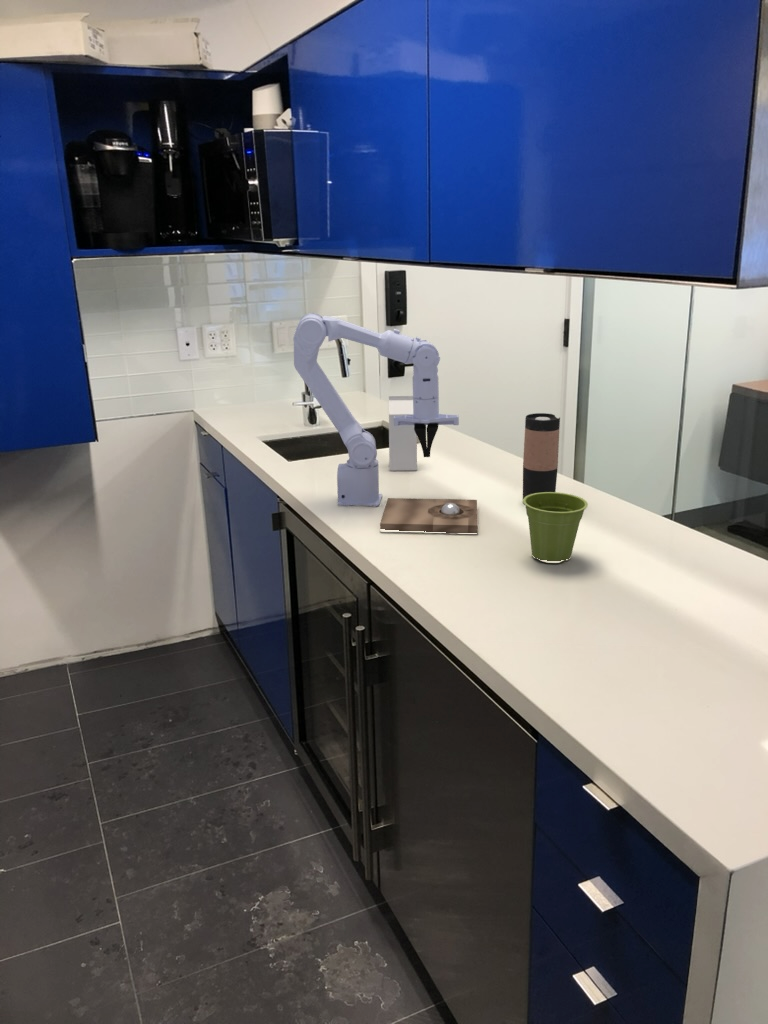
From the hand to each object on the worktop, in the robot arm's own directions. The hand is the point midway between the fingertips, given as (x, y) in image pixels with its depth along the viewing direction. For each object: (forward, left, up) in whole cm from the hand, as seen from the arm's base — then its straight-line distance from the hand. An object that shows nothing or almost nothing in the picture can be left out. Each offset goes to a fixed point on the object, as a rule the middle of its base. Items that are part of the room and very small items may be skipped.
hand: (426, 456), depth 189 cm
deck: (+1, -14, -10) cm, 18 cm away
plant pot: (+25, -34, -11) cm, 44 cm away
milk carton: (-8, +27, -11) cm, 30 cm away
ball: (+6, -15, -8) cm, 18 cm away
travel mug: (+25, -1, -11) cm, 28 cm away
